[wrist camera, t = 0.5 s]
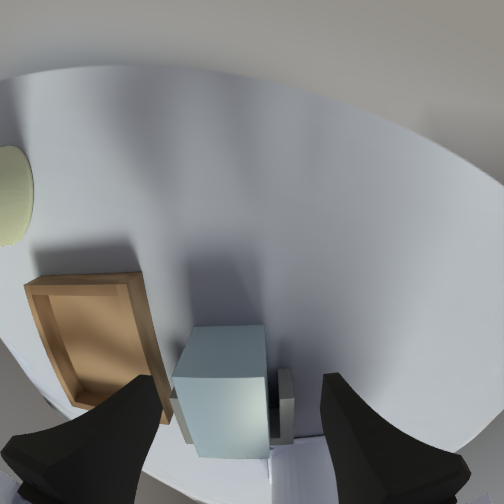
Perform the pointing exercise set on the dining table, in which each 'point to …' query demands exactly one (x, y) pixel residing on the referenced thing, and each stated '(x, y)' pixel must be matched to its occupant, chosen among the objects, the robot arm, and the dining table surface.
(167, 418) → the tray
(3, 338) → the dining table surface
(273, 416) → the bay
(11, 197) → the can
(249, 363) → the pale blue cuboid
